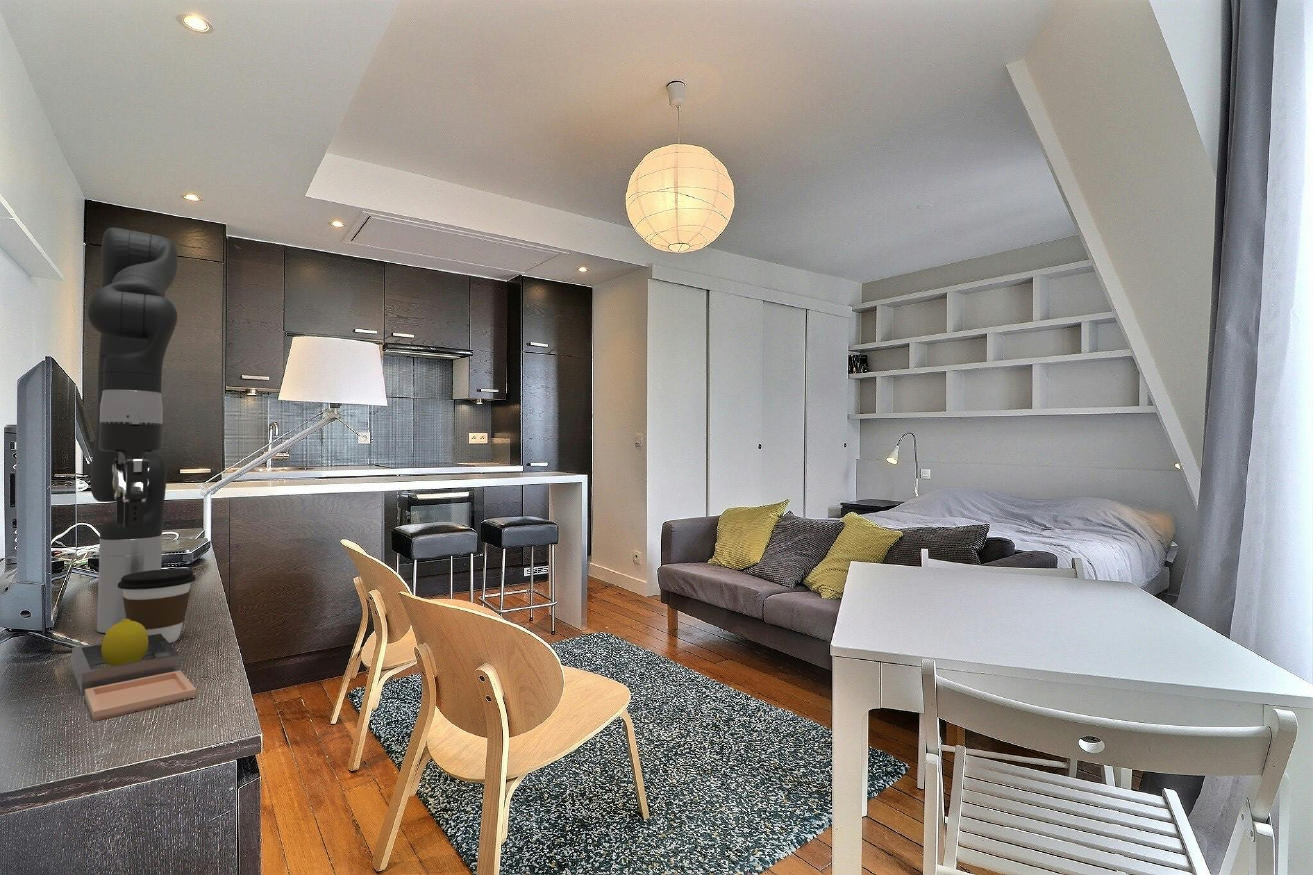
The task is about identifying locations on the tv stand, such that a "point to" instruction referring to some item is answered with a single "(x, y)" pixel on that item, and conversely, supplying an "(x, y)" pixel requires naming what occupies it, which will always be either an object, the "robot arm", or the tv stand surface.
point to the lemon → (124, 643)
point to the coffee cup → (158, 600)
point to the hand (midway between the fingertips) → (129, 525)
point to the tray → (138, 694)
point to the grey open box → (92, 655)
